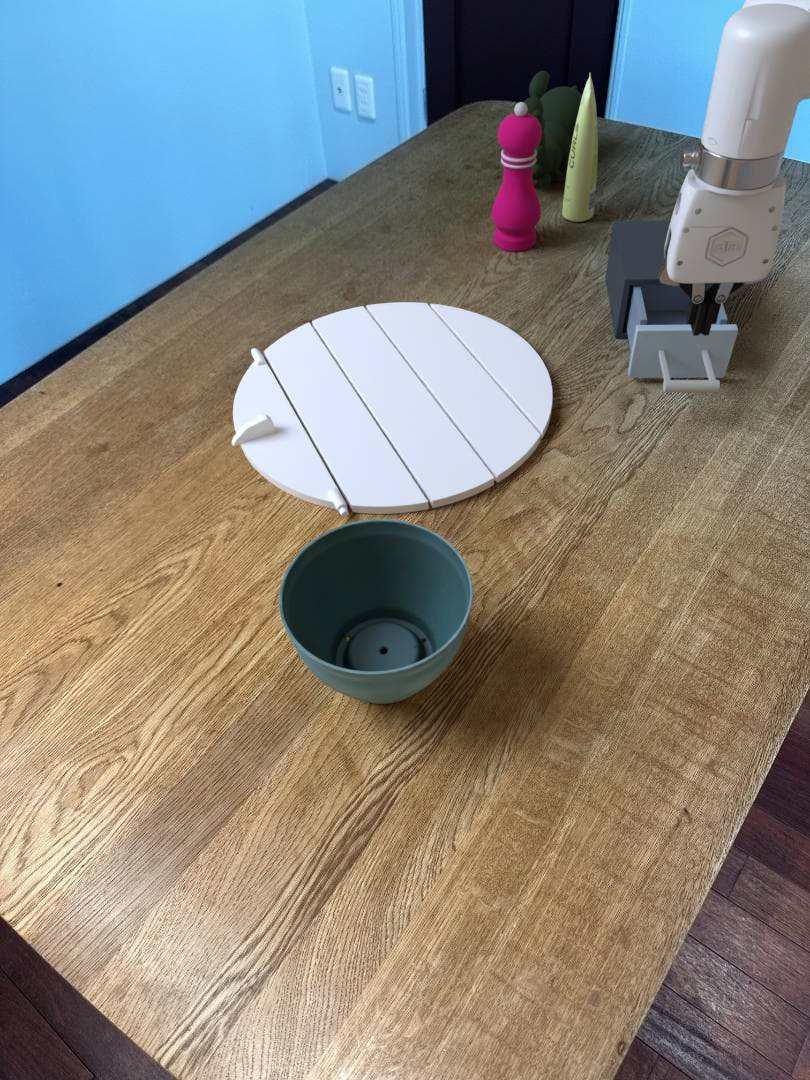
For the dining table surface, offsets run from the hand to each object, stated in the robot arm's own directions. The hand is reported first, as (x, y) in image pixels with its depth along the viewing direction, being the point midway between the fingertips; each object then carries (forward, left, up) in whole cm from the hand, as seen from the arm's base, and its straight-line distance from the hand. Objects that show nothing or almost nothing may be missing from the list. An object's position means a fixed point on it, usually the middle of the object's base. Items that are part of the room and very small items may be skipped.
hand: (698, 328), depth 90 cm
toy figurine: (+13, -62, -10) cm, 64 cm away
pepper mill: (+19, -38, -10) cm, 44 cm away
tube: (+9, -46, -10) cm, 48 cm away
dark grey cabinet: (0, -20, -10) cm, 22 cm away
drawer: (0, -6, -9) cm, 11 cm away
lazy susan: (+35, 0, -10) cm, 37 cm away
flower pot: (+32, +38, -10) cm, 51 cm away
